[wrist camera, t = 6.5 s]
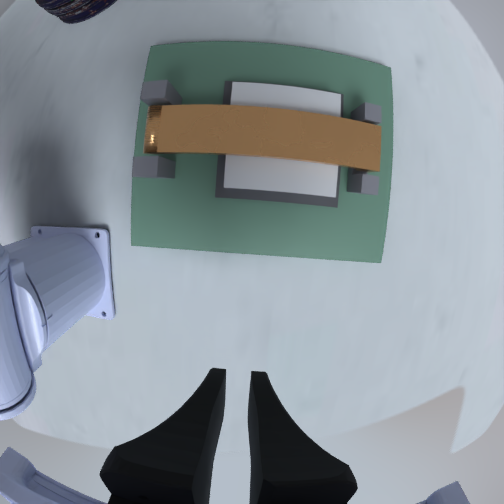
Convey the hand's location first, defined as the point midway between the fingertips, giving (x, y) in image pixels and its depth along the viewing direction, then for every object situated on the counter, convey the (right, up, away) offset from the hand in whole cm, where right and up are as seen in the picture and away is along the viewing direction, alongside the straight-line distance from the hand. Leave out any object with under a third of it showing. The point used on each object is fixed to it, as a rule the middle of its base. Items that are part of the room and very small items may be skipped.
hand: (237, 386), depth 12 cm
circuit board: (+2, +14, +7) cm, 16 cm away
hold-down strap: (+1, +13, +5) cm, 14 cm away
